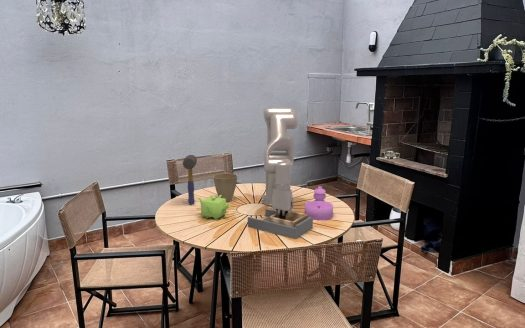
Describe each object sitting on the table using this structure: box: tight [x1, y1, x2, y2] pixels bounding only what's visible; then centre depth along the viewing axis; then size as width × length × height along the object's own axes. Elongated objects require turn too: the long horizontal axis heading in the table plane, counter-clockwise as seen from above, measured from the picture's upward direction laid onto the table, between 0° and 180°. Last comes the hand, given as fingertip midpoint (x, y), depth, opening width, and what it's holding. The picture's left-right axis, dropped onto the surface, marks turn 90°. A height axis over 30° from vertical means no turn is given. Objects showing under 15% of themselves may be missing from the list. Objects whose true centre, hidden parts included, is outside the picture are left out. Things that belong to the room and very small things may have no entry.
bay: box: [247, 208, 314, 240], centre depth 190 cm, size 28×17×6 cm, turn 56°
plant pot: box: [212, 172, 238, 203], centre depth 235 cm, size 15×15×16 cm
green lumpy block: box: [197, 195, 231, 220], centre depth 206 cm, size 15×14×11 cm
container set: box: [304, 185, 334, 221], centre depth 212 cm, size 25×15×13 cm, turn 170°
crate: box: [269, 211, 308, 227], centre depth 187 cm, size 14×14×6 cm
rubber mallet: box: [182, 154, 198, 206], centre depth 226 cm, size 12×8×30 cm, turn 3°
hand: (282, 222), depth 189 cm, fingers closed
